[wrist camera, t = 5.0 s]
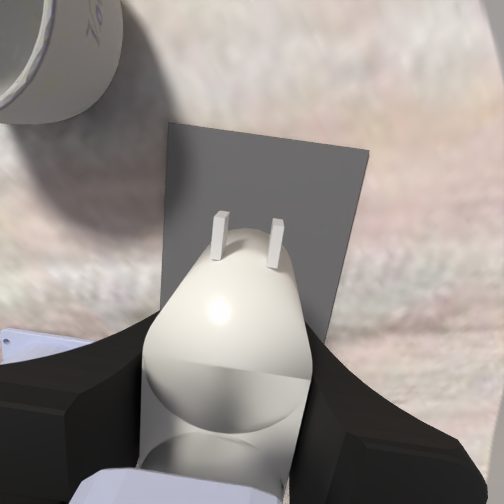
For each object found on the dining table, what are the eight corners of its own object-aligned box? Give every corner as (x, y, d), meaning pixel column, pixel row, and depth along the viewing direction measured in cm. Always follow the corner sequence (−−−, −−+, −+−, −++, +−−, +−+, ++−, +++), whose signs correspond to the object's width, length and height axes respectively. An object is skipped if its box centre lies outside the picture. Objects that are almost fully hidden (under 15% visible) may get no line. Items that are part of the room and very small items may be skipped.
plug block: (271, 395, 15) (271, 547, 9) (189, 382, 15) (137, 526, 9) (306, 208, 12) (340, 255, 6) (205, 194, 12) (146, 227, 6)
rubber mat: (315, 371, 23) (316, 374, 23) (159, 348, 23) (158, 350, 23) (368, 150, 18) (369, 150, 18) (170, 122, 18) (168, 122, 18)
